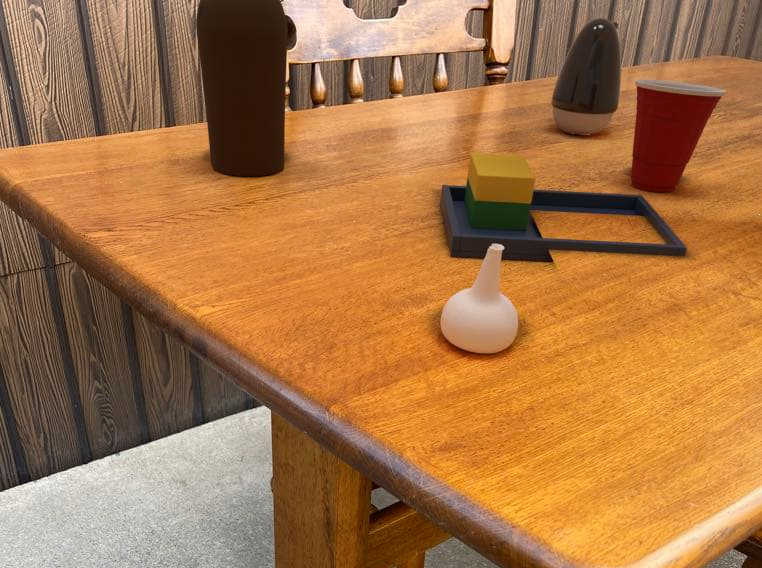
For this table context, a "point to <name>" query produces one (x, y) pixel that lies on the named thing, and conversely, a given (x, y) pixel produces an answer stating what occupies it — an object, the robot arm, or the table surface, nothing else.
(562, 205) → the tray
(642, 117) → the plastic cup
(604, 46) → the grey rounded egg shape
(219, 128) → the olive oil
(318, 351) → the table surface
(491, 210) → the sponge
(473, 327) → the garlic bulb
